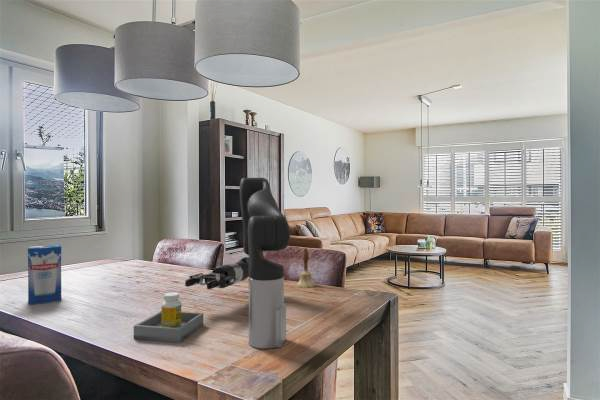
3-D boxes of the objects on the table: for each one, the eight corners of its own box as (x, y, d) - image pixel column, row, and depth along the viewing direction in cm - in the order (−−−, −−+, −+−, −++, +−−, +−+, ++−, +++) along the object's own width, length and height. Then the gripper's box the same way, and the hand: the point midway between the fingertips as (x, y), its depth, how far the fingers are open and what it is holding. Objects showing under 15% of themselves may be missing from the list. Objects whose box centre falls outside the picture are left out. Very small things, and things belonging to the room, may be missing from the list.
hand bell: (294, 287, 155) (294, 249, 155) (298, 282, 163) (298, 247, 163) (314, 288, 153) (314, 250, 153) (316, 283, 161) (316, 247, 161)
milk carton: (27, 305, 129) (27, 248, 129) (29, 301, 134) (28, 246, 134) (61, 300, 135) (61, 246, 135) (61, 296, 140) (61, 244, 140)
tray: (203, 324, 109) (203, 313, 109) (179, 342, 96) (179, 329, 96) (162, 321, 112) (162, 310, 112) (133, 338, 98) (133, 325, 98)
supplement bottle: (165, 324, 106) (165, 291, 106) (183, 324, 107) (183, 291, 107) (158, 331, 101) (158, 296, 101) (177, 331, 101) (178, 296, 101)
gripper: (211, 263, 132) (179, 271, 117) (244, 265, 126) (215, 274, 111) (211, 284, 132) (179, 294, 117) (244, 287, 126) (215, 299, 111)
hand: (196, 284), depth 114 cm, fingers open, 8 cm apart
